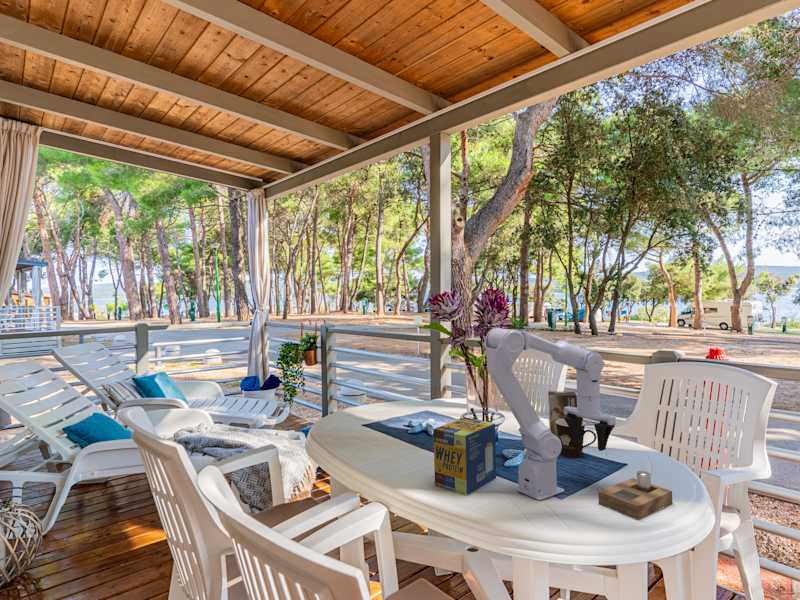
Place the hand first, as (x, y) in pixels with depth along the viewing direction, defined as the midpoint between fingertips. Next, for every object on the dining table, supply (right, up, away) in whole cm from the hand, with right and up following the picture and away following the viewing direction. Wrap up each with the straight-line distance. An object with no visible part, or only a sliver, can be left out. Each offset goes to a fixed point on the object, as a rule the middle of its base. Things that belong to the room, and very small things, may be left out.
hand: (589, 446), depth 128 cm
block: (+6, -10, -13) cm, 17 cm away
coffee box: (+6, -9, +38) cm, 40 cm away
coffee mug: (+4, -10, +21) cm, 24 cm away
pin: (+9, -9, -11) cm, 17 cm away
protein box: (-32, -11, +3) cm, 34 cm away
